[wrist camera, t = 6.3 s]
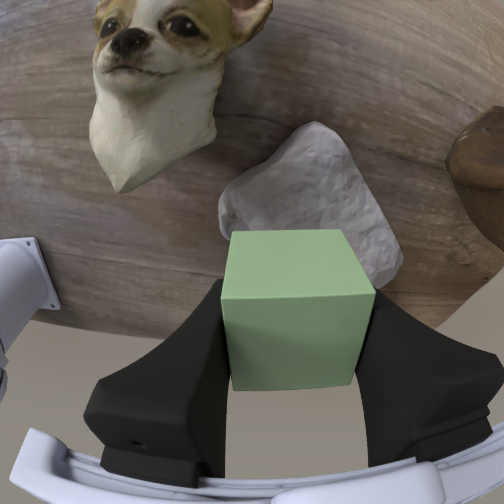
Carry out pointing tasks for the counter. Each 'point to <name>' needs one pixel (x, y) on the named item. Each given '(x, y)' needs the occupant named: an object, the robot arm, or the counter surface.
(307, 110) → the counter surface
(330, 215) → the stone block
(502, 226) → the sculpture
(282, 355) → the sage block
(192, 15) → the ceramic sculpture
